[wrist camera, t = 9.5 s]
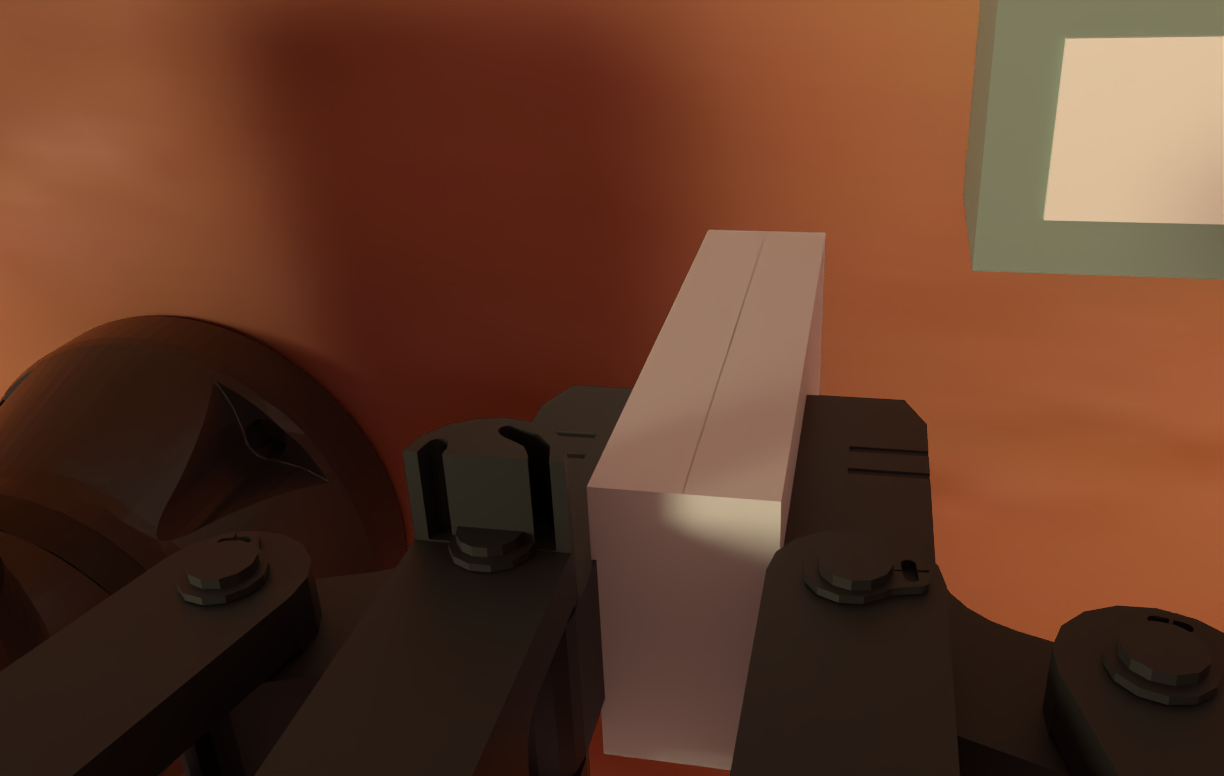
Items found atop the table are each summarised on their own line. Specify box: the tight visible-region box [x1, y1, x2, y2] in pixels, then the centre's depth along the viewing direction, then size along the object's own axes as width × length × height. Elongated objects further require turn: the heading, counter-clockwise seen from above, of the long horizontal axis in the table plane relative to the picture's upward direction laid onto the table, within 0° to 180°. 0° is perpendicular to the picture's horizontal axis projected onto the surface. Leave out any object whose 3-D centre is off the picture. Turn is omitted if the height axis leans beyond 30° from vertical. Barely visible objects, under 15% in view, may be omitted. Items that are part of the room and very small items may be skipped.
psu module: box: [963, 0, 1224, 279], centre depth 24 cm, size 7×6×6 cm
